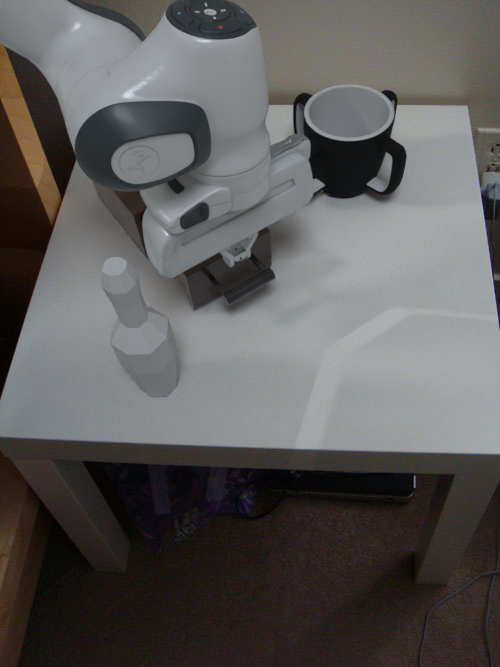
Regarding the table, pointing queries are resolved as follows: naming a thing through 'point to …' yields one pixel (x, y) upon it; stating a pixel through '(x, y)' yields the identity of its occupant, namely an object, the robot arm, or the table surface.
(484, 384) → the table surface
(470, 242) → the table surface
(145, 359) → the faceted bottle
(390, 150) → the mug
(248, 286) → the drawer
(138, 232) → the cabinet
